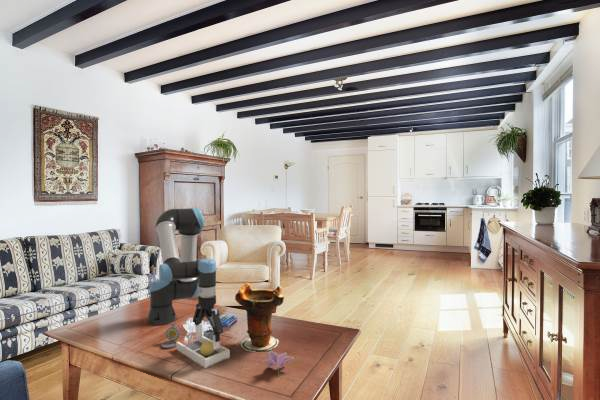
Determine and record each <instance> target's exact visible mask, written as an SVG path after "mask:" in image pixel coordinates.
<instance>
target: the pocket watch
mask: <svg viewBox="0 0 600 400" xmlns="http://www.w3.org/2000/svg"><path fill="white" fill-rule="evenodd" d="M169 324H170V327H169V328H167V329H166V332H165V336H166V338H167V339H168V340H167V341H164V342H163V343H162V344H161V348H164V349H172V348H174V347H176V342H177V340H178V339H179V338H180V335H181V332H180V330H179V328H178V327H176V326H175V325H176V324H177V323H176V322H174V323H173V322H170V323H169Z"/></svg>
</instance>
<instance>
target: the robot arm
mask: <svg viewBox="0 0 600 400" xmlns="http://www.w3.org/2000/svg"><path fill="white" fill-rule="evenodd" d="M204 228H205V220H204V215H203V212H202V210H201V209H199V208H193V207H191V208H171V209H170V208H169V209H167V210H165V211H164V212H162V213H160V215H159V216H158V218H157V219H156V222H155V232H156V234H157V235H158V238H159V239H158V240H159V246H160V253H161V261H162V263H161V264H159V266H158V278H156V279H154V280H152V281H151V282H150V284H149V285H150V286H149V293H150V294H149V310H148V314H147V316H146V324H148V325H152V326H162V325H167V324H170V323H171V322H172V323H174V322H175V320H176V319H177V317H176V316H177V315H176V310H175V309H174V306H173V301H176V300H177V301H178V300H186V299H192V298H196V297H197V298H198V299H197V303H196V306H195V312H194V315H193V318H192V323H194V325H195V341H198V340H199V339H202V336H203V324H202V323H203V320H204V319H205V318H206V319H207V320H208V321H209V323H210V326H211V330H213V331H214V334H213V350H215V349H218V348H220V347H219V344H220V341H221V334H222V333H224V329H223V325H222V322H221V317H220V310H219V309H218V308H216V309H215V305H216V304H217V263H216V260H215V259H213V258H205V259H204V258H203V259H201V258H198V259H197V247H198V236H199V235H200V234H201V230H204ZM176 231H178V234H179V235H180V253H179V248H178V243H177V238H176V234H175V232H176Z"/></svg>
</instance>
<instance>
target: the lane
mask: <svg viewBox="0 0 600 400" xmlns="http://www.w3.org/2000/svg"><path fill="white" fill-rule="evenodd" d="M206 341H210V342H212V343H213V341H212V340H210V339H208V338H206V337H204V335H202V339H199V340H195V341H194V342H192V343H191V342H190V343H189V344H186V345H185V344H183V343H181V342H180V341H176V346H175V347H176V351H177V352H179V353H181V354H182V355H183V356H185V357H187V358H188V359H190V360H191V361H193V362H195V363H197V364H198V365H199V366H201V367H203V368H204V369H208V368H210V367H212V366H215V365H216V364H218V363H221V362H224V361H226V360H228V359H230V358H231V356H230V355H231V354H230V353H231V352H230V351H231V350H230V349H229V348H227V347H225V346H223V345H221V344H220V343H219V347H220V348H218V349H215V350H214V352H213V353H212V354H211V355H209V356H204V355H202V354H201V351H200V347H201V345H202V344H203V343H204V342H206Z"/></svg>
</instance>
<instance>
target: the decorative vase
mask: <svg viewBox="0 0 600 400" xmlns="http://www.w3.org/2000/svg"><path fill="white" fill-rule="evenodd" d="M234 298H235V299H234V300H235V301H236V303H238V304H239V306H241V307H243V309H244V310H245V311H246V320H247V321H246V322H247V323H246V324H247V330H246V334H248V337H247V338H244V340H243V341H242V342H241V344H240V346H241V348H243V350H245V351H247V352H251V353H252V352H253V353H255V352H257V351H260V352H261V351H262V352H264V351H272V349H275V348H276V347H278V344H279V342H280V340H279V339H278V338H275V337H274V336H272V333H273V330H272V316H273V312H274V310H275V309H276V308H277V307H279V306H281V305H282V304H283V303H284V300H285V296H284V294H283V292H282V286H281V285H277V287H276V288H275V289H267V288H252V287H251V285H250V283H248V282H246V283H243V284H242V286H241V288H240V289H238V292H236V293H235V296H234Z"/></svg>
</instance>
